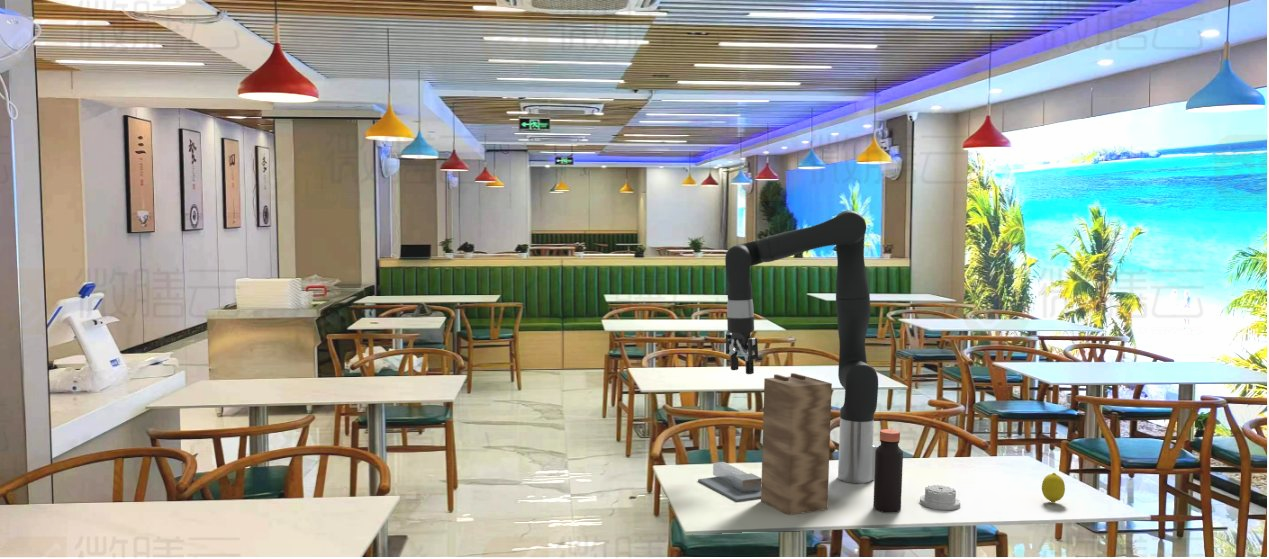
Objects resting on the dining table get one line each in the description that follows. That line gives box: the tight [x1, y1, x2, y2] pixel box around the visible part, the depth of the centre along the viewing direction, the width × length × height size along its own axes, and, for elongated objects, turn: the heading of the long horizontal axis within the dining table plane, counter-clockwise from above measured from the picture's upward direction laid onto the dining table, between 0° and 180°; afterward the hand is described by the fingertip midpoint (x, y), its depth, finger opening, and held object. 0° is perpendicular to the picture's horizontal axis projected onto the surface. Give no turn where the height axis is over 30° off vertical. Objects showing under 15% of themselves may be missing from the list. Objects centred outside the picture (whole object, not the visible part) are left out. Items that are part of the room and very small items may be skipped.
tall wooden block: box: [760, 372, 833, 516], centre depth 243 cm, size 12×12×33 cm
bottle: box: [872, 428, 904, 514], centre depth 242 cm, size 7×7×20 cm
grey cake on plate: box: [919, 484, 961, 511], centre depth 247 cm, size 10×4×10 cm
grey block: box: [712, 461, 762, 493], centre depth 261 cm, size 6×18×3 cm, turn 24°
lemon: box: [1041, 472, 1066, 503], centre depth 250 cm, size 6×6×8 cm
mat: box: [697, 476, 761, 503], centre depth 258 cm, size 12×20×1 cm, turn 26°
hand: (742, 371), depth 273 cm, fingers open, 8 cm apart
